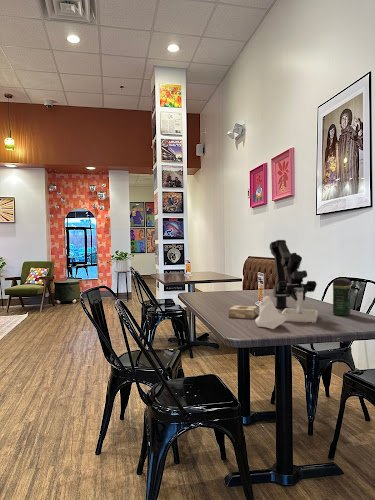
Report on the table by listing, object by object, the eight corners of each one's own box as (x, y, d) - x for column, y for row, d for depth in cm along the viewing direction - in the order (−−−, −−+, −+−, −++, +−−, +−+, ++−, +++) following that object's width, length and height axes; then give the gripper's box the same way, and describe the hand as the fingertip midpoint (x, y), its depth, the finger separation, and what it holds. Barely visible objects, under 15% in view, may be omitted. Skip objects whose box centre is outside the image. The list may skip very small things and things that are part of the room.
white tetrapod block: (258, 333, 158) (249, 300, 160) (257, 328, 173) (248, 298, 174) (287, 326, 157) (278, 293, 158) (283, 321, 171) (274, 292, 173)
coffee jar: (347, 316, 183) (347, 279, 182) (331, 315, 187) (330, 278, 187) (352, 313, 190) (351, 277, 190) (336, 312, 195) (335, 277, 195)
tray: (285, 315, 190) (285, 308, 190) (317, 316, 184) (317, 309, 184) (281, 320, 175) (280, 313, 175) (315, 323, 169) (315, 315, 169)
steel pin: (292, 313, 180) (292, 287, 180) (299, 312, 182) (299, 287, 182) (299, 314, 177) (299, 288, 176) (306, 313, 179) (306, 287, 178)
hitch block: (234, 312, 198) (234, 305, 198) (257, 314, 193) (257, 306, 193) (228, 316, 187) (228, 309, 187) (252, 318, 182) (252, 310, 182)
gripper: (277, 265, 183) (284, 290, 172) (315, 264, 183) (324, 289, 172) (274, 279, 191) (279, 304, 180) (309, 279, 191) (317, 303, 180)
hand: (300, 300), depth 178 cm, fingers closed on steel pin, 4 cm apart
